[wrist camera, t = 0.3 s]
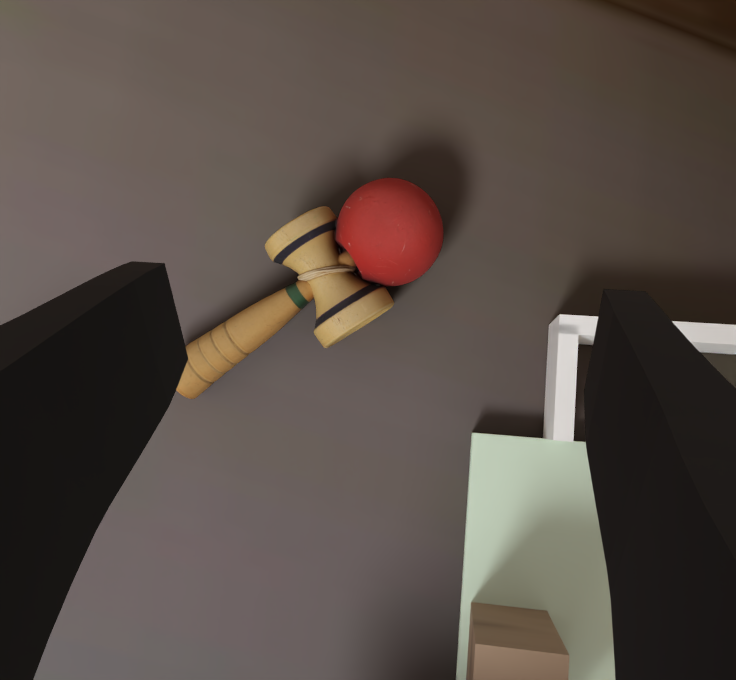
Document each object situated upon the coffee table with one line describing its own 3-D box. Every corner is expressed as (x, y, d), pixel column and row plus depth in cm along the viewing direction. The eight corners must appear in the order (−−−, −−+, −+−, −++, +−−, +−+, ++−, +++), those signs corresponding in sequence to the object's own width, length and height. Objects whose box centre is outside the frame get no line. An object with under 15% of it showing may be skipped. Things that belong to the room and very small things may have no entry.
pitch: (782, 812, 35) (824, 862, 31) (450, 763, 37) (449, 804, 33) (789, 340, 38) (829, 330, 34) (478, 320, 40) (481, 309, 36)
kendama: (238, 441, 42) (482, 272, 39) (178, 435, 37) (459, 236, 33) (188, 340, 45) (413, 174, 42) (125, 319, 39) (381, 125, 36)
